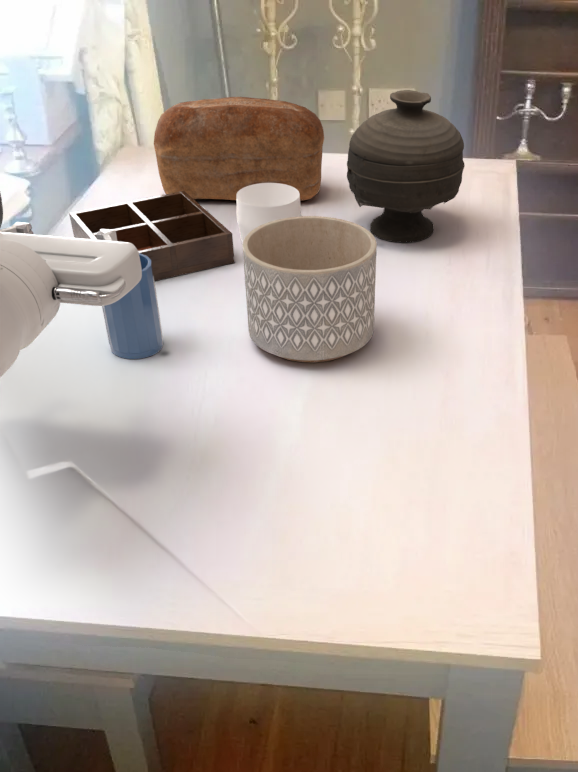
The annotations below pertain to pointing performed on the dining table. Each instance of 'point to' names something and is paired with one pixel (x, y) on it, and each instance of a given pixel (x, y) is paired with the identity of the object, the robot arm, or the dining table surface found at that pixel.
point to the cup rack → (163, 232)
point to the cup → (265, 205)
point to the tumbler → (135, 319)
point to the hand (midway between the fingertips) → (68, 232)
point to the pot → (405, 166)
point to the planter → (310, 287)
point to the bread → (238, 147)
